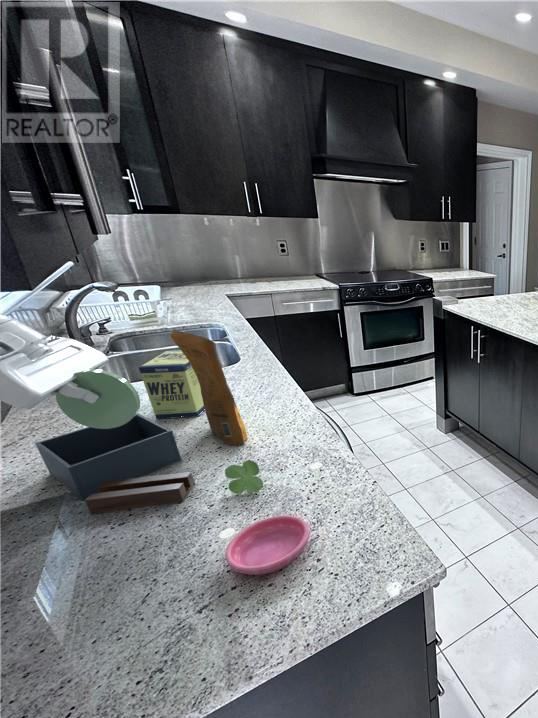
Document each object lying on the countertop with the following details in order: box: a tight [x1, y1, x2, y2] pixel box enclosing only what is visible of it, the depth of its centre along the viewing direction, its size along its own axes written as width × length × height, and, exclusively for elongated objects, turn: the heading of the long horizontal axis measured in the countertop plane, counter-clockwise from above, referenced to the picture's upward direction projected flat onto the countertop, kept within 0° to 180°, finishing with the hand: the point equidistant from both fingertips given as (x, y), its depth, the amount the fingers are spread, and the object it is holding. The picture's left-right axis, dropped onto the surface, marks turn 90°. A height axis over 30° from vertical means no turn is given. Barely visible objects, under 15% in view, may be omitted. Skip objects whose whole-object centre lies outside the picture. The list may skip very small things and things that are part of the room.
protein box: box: [138, 348, 205, 420], centre depth 116 cm, size 10×16×16 cm
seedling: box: [224, 459, 264, 495], centre depth 87 cm, size 7×8×7 cm
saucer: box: [225, 514, 310, 576], centre depth 70 cm, size 12×12×3 cm
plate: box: [55, 369, 141, 429], centre depth 77 cm, size 1×12×12 cm, turn 107°
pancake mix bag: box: [169, 329, 248, 446], centre depth 100 cm, size 7×19×28 cm, turn 54°
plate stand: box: [84, 471, 196, 515], centre depth 81 cm, size 6×15×3 cm, turn 106°
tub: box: [34, 412, 182, 502], centre depth 90 cm, size 17×17×8 cm
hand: (102, 396), depth 77 cm, fingers closed on plate, 1 cm apart
